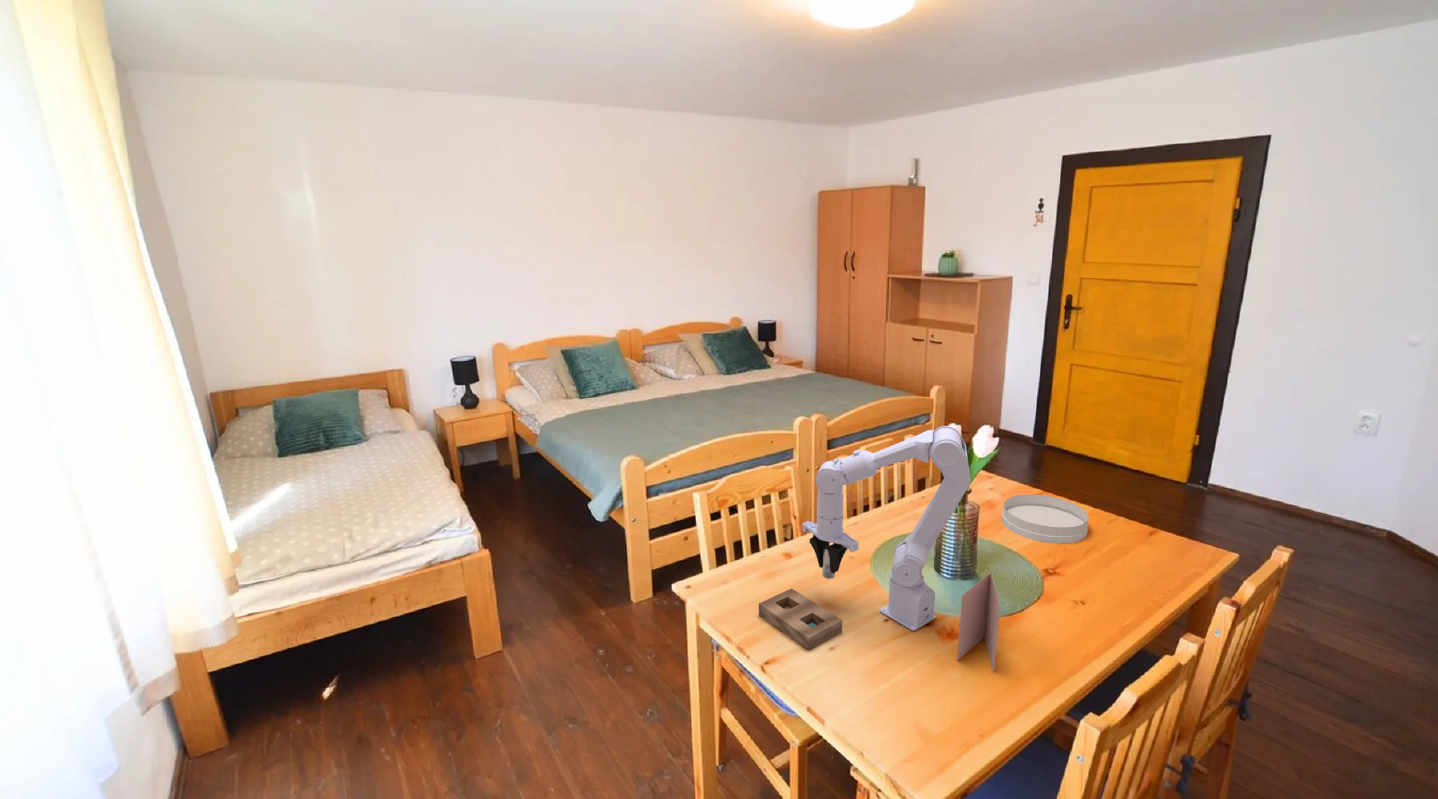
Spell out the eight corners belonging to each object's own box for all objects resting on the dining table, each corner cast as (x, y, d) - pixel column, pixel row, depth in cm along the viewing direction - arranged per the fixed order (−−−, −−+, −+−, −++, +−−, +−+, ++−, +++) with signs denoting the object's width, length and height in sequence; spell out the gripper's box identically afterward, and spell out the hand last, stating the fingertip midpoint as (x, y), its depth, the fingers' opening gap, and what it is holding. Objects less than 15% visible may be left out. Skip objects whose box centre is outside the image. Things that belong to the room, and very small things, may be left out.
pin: (837, 575, 147) (838, 548, 146) (828, 580, 146) (829, 552, 144) (828, 571, 150) (829, 543, 148) (819, 575, 148) (820, 547, 146)
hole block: (841, 632, 138) (842, 620, 138) (808, 650, 133) (808, 638, 132) (791, 599, 151) (791, 588, 150) (758, 615, 145) (758, 603, 144)
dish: (1089, 519, 187) (1092, 503, 186) (1084, 552, 169) (1087, 534, 168) (1007, 503, 199) (1009, 489, 198) (994, 532, 181) (996, 516, 180)
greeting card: (980, 634, 136) (986, 571, 132) (1015, 650, 131) (1022, 585, 127) (952, 658, 129) (958, 592, 125) (988, 677, 124) (995, 608, 120)
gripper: (867, 518, 141) (865, 574, 145) (816, 499, 152) (815, 551, 155) (847, 529, 137) (846, 585, 140) (796, 508, 147) (796, 561, 151)
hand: (828, 568), depth 147 cm, fingers closed on pin, 3 cm apart
